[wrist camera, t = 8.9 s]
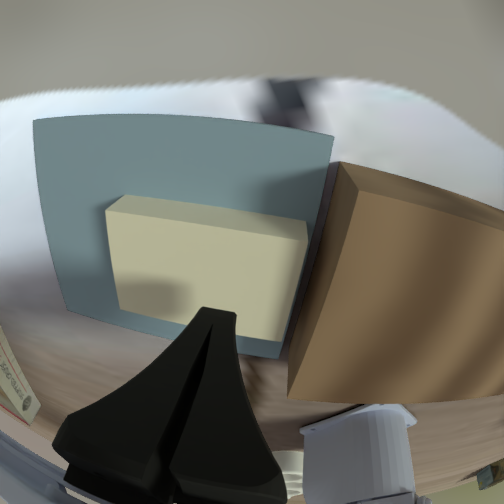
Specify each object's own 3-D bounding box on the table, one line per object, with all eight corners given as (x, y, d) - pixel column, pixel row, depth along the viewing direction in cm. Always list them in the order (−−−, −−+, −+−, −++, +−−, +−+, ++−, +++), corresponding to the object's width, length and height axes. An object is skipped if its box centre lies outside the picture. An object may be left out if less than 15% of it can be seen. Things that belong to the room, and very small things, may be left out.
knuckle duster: (213, 438, 29) (338, 448, 28) (218, 476, 38) (306, 483, 38) (208, 463, 26) (339, 473, 25) (214, 492, 36) (305, 500, 35)
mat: (332, 135, 12) (334, 137, 12) (278, 354, 19) (278, 359, 19) (37, 119, 12) (32, 120, 12) (70, 306, 20) (67, 310, 19)
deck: (578, 246, 12) (605, 274, 8) (512, 357, 18) (527, 389, 15) (339, 161, 12) (359, 190, 9) (289, 347, 19) (286, 398, 15)
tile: (306, 221, 14) (308, 242, 12) (282, 316, 17) (281, 341, 15) (125, 194, 14) (105, 210, 12) (133, 287, 17) (120, 309, 15)
